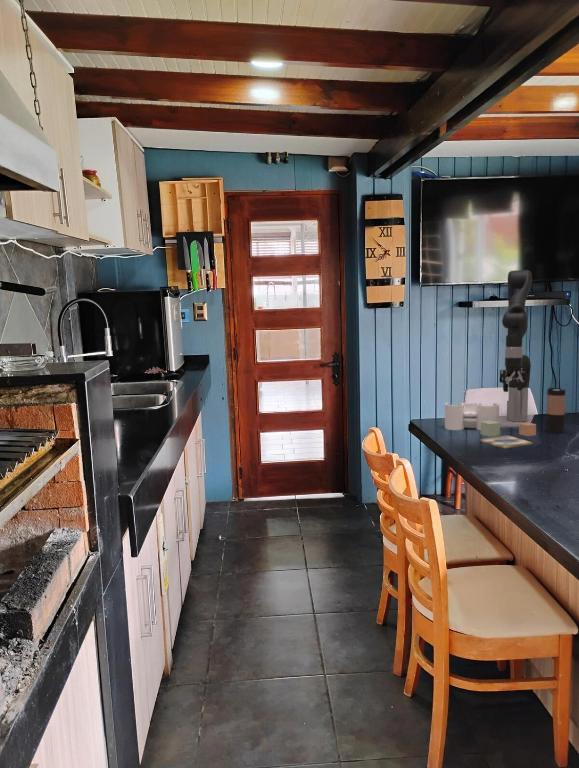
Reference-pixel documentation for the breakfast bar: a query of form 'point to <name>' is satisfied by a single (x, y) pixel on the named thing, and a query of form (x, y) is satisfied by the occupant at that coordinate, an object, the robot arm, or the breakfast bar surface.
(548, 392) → the travel mug
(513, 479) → the breakfast bar surface
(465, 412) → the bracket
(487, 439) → the board
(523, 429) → the terracotta block
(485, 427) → the sage block
